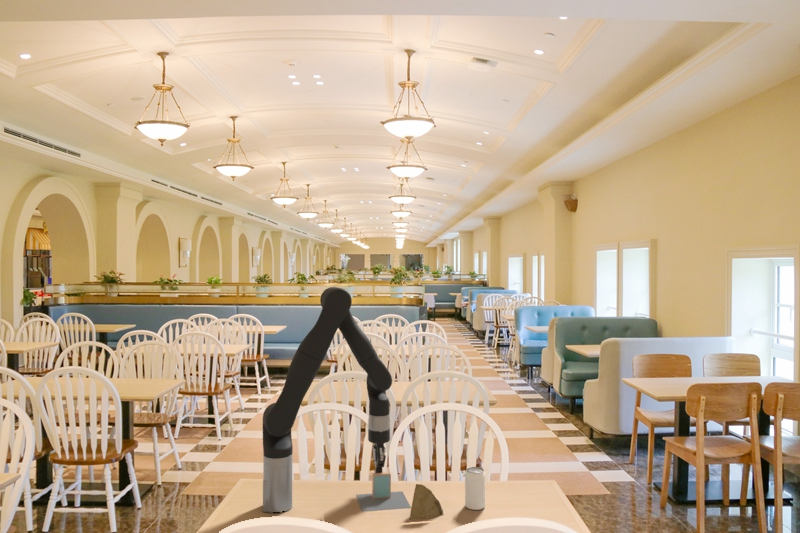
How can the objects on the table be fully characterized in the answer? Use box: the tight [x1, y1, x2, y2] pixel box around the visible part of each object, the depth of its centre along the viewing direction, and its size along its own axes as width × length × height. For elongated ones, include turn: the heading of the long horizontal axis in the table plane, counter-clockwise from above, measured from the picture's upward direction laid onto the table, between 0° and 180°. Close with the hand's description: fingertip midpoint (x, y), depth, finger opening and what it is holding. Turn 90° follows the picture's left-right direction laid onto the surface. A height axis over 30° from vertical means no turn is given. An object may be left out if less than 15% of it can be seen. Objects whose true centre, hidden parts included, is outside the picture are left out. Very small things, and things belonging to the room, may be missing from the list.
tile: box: [371, 471, 392, 499], centre depth 197 cm, size 6×2×8 cm, turn 101°
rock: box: [409, 483, 444, 520], centre depth 183 cm, size 11×9×10 cm
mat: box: [355, 491, 412, 513], centre depth 194 cm, size 16×14×1 cm
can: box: [464, 466, 486, 511], centre depth 191 cm, size 6×6×12 cm
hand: (378, 477), depth 202 cm, fingers closed
